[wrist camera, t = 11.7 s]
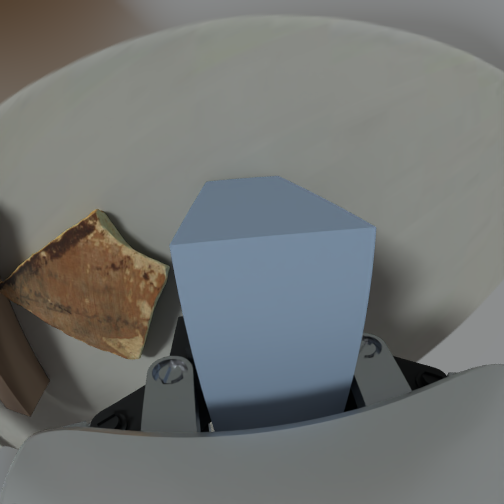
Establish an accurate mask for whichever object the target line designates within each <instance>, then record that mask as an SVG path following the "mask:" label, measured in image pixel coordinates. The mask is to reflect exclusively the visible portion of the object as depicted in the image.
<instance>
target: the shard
mask: <svg viewBox="0 0 504 504" xmlns="http://www.w3.org/2000/svg"><path fill="white" fill-rule="evenodd" d="M169 269H170V267H169V266H168V265H166V264H163V263H161V262H159V261H157V260H154V259H152V258H149V257H147V256H146V255H144V254H142V253H139V252H137V251H135V250H134V249H132V247H131V246H130V245H129V244H128V243H127V242H126V241H124V239H123V237H122V236H121V235H120V233H119V232H118V231H117V229H116V228H115V226H114V225H113V224H112V223H111V221H110V220H109V218H108V217H107V215H106V214H105V213H104V212H103V211H100V210H99V209H96V210H94V211H93V212H91V213H90V214H89V216H88V217H86V218H84V219H82V220H81V221H80V222H79V223H78V224H76V225H74V226H72V227H71V228H69V229H67V230H66V231H65V232H63V233H62V234H61V235H59V236H58V237H57V238H56V239H55V240H53V241H51V242H50V243H49V244H48V245H46V246H45V247H44V248H43V249H41V250H40V251H38V252H36V253H35V254H32V255H31V257H30V258H29V259H27V260H25V261H24V262H23V263H22V264H21V265H19V266H18V268H17V269H16V270H15V271H14V272H13V273H12V275H11V276H10V277H9V278H8V279H6V280H5V281H4V282H3V281H2V282H0V293H1V294H3V295H4V296H6V297H7V298H9V299H10V300H11V301H13V302H14V303H16V304H18V305H21V306H23V307H24V308H25V309H27V310H28V311H30V312H32V313H33V314H34V315H36V316H37V317H39V318H40V319H41V320H43V321H44V322H46V323H48V324H49V325H51V326H53V327H55V328H57V329H59V330H61V331H63V332H64V333H65V334H67V335H69V336H71V337H73V338H75V339H78V340H80V341H83V342H85V343H87V344H88V345H90V346H93V347H95V348H98V349H100V350H103V351H109V352H111V353H113V354H116V355H118V356H121V357H123V358H126V359H139V358H141V354H142V351H143V348H144V345H145V341H146V337H147V334H148V330H149V326H150V323H151V319H152V316H153V311H154V309H155V306H156V304H157V300H158V299H159V297H160V295H161V292H162V290H163V287H164V286H165V285H166V282H167V278H168V272H169Z"/></svg>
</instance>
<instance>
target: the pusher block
mask: <svg viewBox="0 0 504 504" xmlns="http://www.w3.org/2000/svg"><path fill="white" fill-rule="evenodd" d="M375 238H376V227H375V226H373V225H371V224H370V223H368V222H366V221H364V220H363V219H361V218H359V217H357V216H355V215H354V214H352V213H350V212H348V211H346V210H345V209H343V208H341V207H339V206H337V205H335V204H333V203H331V202H330V201H328V200H326V199H324V198H322V197H320V196H318V195H316V194H314V193H312V192H310V191H308V190H306V189H304V188H302V187H300V186H298V185H296V184H294V183H292V182H290V181H288V180H286V179H284V178H282V177H279V176H270V177H255V178H241V179H229V180H218V181H208V182H206V183H205V185H204V186H203V188H202V190H201V191H200V193H199V195H198V196H197V198H196V200H195V201H194V203H193V205H192V206H191V208H190V210H189V212H188V213H187V215H186V217H185V219H184V220H183V222H182V224H181V226H180V227H179V229H178V231H177V233H176V235H175V236H174V238H173V240H172V242H171V244H170V251H171V257H172V262H173V268H174V273H175V278H176V284H177V289H178V294H179V298H180V303H181V308H182V312H183V317H184V321H185V326H186V330H187V334H188V338H189V343H190V347H191V351H192V355H193V358H194V362H195V366H196V370H197V373H198V377H199V381H200V384H201V388H202V391H203V395H204V398H205V401H206V405H207V408H208V411H209V415H210V418H211V421H212V424H213V427H214V430H215V432H219V431H234V430H245V429H255V428H263V427H271V426H278V425H285V424H291V423H297V422H302V421H308V420H313V419H318V418H322V417H327V416H331V415H335V414H339V413H343V412H344V409H345V406H346V402H347V399H348V395H349V391H350V387H351V384H352V380H353V375H354V371H355V367H356V363H357V358H358V354H359V349H360V344H361V339H362V334H363V329H364V323H365V318H366V312H367V305H368V299H369V292H370V285H371V277H372V269H373V259H374V249H375Z"/></svg>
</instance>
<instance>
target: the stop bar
mask: <svg viewBox="0 0 504 504" xmlns="http://www.w3.org/2000/svg"><path fill="white" fill-rule="evenodd" d="M0 282H2V280H1V277H0ZM49 382H50V380H49V379H48V377H47V376H46V374H45V372H44V371H43V369H42V367H41V366H40V364H39V362H38V360H37V358H36V357H35V355H34V353H33V351H32V349H31V347H30V345H29V343H28V342H27V340H26V338H25V335H24V333H23V331H22V329H21V327H20V325H19V323H18V321H17V318H16V316H15V314H14V311H13V309H12V307H11V304H10V302H9V299H8V298H7V297H6V296H4V295H3V294H1V293H0V400H1V401H2V403H3V404H4V405H5V407H6V408H7V409H10V410H13V411H15V412H18V413H21V414H24V415H27V416H30V417H31V415H32V413H33V411H34V409H35V407H36V405H37V403H38V402H39V400H40V398H41V396H42V394H43V392H44V391H45V389H46V387H47V385H48V383H49Z"/></svg>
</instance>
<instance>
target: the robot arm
mask: <svg viewBox="0 0 504 504" xmlns="http://www.w3.org/2000/svg"><path fill="white" fill-rule="evenodd" d="M210 422H211V418H210V415H209V411H208V408H207V405H206V401H205V398H204V395H203V391H202V388H201V384H200V381H199V377H198V373H197V370H196V366H195V362H194V358H193V355H192V351H191V347H190V343H189V338H188V334H187V330H186V326H185V321H184V317H183V316H181V317H179V318H178V321H177V325H176V330H175V334H174V339H173V343H172V348H171V353H170V356H167V357H163V358H161V359H158V360H157V361H155V362H154V363H152V365H151V366H150V367H149V369H148V372H147V378H146V385H144V386H143V387H141V388H140V389H138V390H136V391H135V392H133V393H131V394H130V395H128V396H126V397H125V398H123V399H121V400H120V401H118V402H116V403H115V404H113V405H111V406H110V407H108V408H106V409H104V410H103V411H101V412H100V413H98V414H97V415H96V416H95V417H94V418H93V420H92V421H91V423H89V424H87V422H86V421H83V422H80V423H76V424H72V425H68V426H63V427H59V428H54V429H47V430H43V431H40V432H37V433H34V434H33V435H31V436H30V437H28V438H27V439H26V440H25V441H24V443H23V444H22V445H21V447H20V449H19V450H18V452H17V454H16V456H15V458H14V460H13V462H12V464H11V466H10V468H9V471H8V474H7V476H6V479H5V482H4V485H3V488H2V491H1V494H0V504H504V365H503V364H492V365H483V366H479V367H475V368H471V369H468V370H465V371H462V372H459V373H448V375H447V376H446V374H445V373H444V372H442V371H441V370H439V369H437V368H434V367H430V366H427V365H423V364H419V363H416V362H412V361H409V360H405V359H402V358H398V357H395V356H392V354H391V352H390V350H389V349H388V347H387V345H386V344H385V342H384V341H383V340H382V339H381V338H379V337H378V336H376V335H373V334H369V333H363V334H362V339H361V344H360V349H359V354H358V358H357V363H356V367H355V371H354V375H353V380H352V384H351V387H350V391H349V395H348V399H347V402H346V406H345V409H344V412H343V413H339V414H335V415H331V416H327V417H322V418H318V419H313V420H308V421H302V422H297V423H291V424H285V425H278V426H271V427H263V428H255V429H245V430H234V431H219V432H211V426H210Z"/></svg>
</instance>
